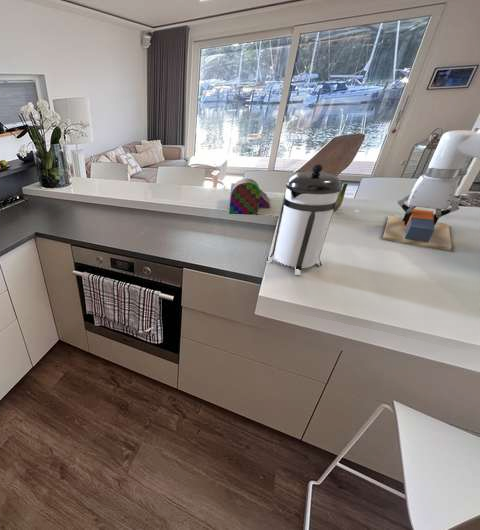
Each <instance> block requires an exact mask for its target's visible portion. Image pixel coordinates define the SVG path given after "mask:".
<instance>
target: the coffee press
mask: <svg viewBox="0 0 480 530" xmlns="http://www.w3.org/2000/svg"><path fill="white" fill-rule="evenodd" d="M322 170H323V166H322V164H320V163H315V164H314V165H313V166H312V167H311V171H305V172H304V171H303V172H299V173H296V174H294V175H292V176H291V177H290V178H289V180H288V181H286V183H285V188H286V190H285V194H284V196H283V200H282V206H281V209H280V214H279V218H278V223H277V228H276V234H275V239H274V242H273V248H272V251H271V254H270V255H271V256H270V255H269V256H270V257H271V258H272V257H273V259H274V258H275V259H276V260H275V261H276V262H278V263H279V262H280V263H279V264H281V263H282V264H281V265H283V264H284V265H283V266H286V265H287V266H286V267H289V266H291V267H290V268H294V267H296V269H299V270H301V271H302V269H306V268H310V267H313V266H316V267H317V268H318V267H322V266H323V263H322V261H321V260H320V257H321V253H322V250H323V247H324V243H325V241H326V237H327V234H328V231H329V228H330V224H331V221H332V217H333V214H334V211H335V210H334V208H335V206H336V203H337V196H338V193H339V192H340V191H341V190H342V187H343V184H341V182H342V181H341V179H340V178H339V177H338V176H337V175H334V174H332V173H328V172H323V171H322ZM266 261H268V257H267V258H266ZM318 261H319V263H318ZM321 263H322V264H321Z"/></svg>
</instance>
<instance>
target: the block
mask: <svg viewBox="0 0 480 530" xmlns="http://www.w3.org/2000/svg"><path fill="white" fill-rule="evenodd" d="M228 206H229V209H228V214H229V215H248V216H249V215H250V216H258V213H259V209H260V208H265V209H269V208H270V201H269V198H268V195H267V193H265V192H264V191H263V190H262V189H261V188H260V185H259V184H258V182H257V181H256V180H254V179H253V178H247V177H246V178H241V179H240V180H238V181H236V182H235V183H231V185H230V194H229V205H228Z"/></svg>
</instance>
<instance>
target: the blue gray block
mask: <svg viewBox="0 0 480 530" xmlns="http://www.w3.org/2000/svg"><path fill="white" fill-rule="evenodd" d="M433 232H434V220H428V219H421V218H413V217H411V219H410V222H409V224H408V226H407V228H406V233H405V239H409V240H415V241H421V242H427V243H428V241H429V240H430V238H431V236H432V234H433Z"/></svg>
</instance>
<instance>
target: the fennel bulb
mask: <svg viewBox="0 0 480 530" xmlns="http://www.w3.org/2000/svg"><path fill="white" fill-rule="evenodd" d="M341 184H342V189H341V191H340V192H339V193H338V196H337V203H336V206H335V208H334V211H337V210H338V209H339V208H340V207H341V206H342V204H343V201H344V198H345V193H346V190H347V187H348V185H349V183H348V182H344V181H341Z"/></svg>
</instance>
